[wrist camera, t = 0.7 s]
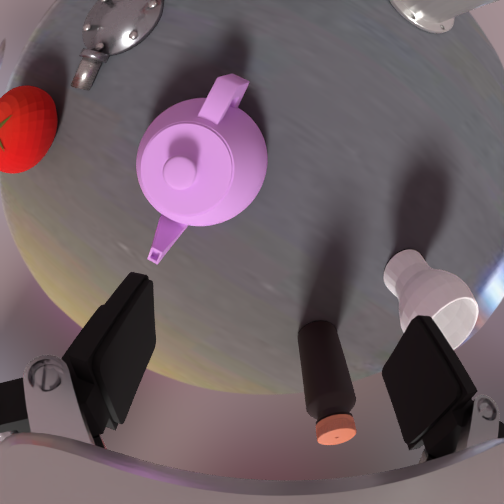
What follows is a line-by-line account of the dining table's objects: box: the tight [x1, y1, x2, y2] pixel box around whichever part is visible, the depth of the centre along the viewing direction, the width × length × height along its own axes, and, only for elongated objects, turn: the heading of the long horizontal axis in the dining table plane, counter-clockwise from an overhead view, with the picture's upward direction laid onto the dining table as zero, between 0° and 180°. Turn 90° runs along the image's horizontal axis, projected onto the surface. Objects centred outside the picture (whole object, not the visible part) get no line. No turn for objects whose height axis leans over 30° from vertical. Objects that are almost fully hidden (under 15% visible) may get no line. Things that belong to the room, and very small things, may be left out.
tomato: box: [0, 85, 58, 173], centre depth 26 cm, size 13×14×12 cm
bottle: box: [298, 321, 356, 445], centre depth 36 cm, size 7×7×20 cm
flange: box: [71, 0, 163, 90], centre depth 24 cm, size 18×13×4 cm
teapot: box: [136, 73, 267, 264], centre depth 28 cm, size 22×16×12 cm
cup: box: [384, 249, 478, 350], centre depth 32 cm, size 11×11×15 cm
